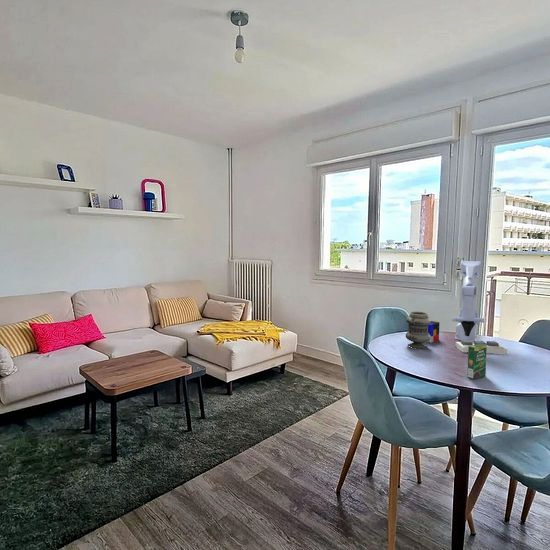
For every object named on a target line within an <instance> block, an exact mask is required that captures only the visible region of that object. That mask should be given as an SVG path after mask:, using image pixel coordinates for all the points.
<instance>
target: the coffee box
mask: <svg viewBox="0 0 550 550" xmlns="http://www.w3.org/2000/svg"><path fill="white" fill-rule="evenodd" d="M486 350H487V345H485V344H482V343H480V344H476V345H472V346H468V353H467V354H468V355H467V374H466V375H467V378H468V379H471V380H477V379H479V378H484V377H487V375H486V374H487V371H486V370H487V353H486Z"/></svg>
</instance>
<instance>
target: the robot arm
mask: <svg viewBox="0 0 550 550" xmlns="http://www.w3.org/2000/svg"><path fill="white" fill-rule="evenodd" d="M481 272H482V261H480V260H478V261H477V260H476V261H475V260H474V261H473V260H469V261H467V260H461V262H460V275H461V277H463V283H462V284H463V285H462V286H461V308H459V310H458V311H459V312H458V316H452V317H451V321H452V322H454V323H455V322H458V323H457V324H456V326H455V337H454V339H455V340H458V341H461V340H470V341H471V342H473V343H474V341H480V340H479V339H476V328H477V325H479V323H482V324H483V323H485V318H483V317H480V312H479V310H478V309H477V308H476V297H477V293H478V292H477V289H478V288H477V278H479V277H480V276H481Z"/></svg>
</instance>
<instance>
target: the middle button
mask: <svg viewBox="0 0 550 550" xmlns="http://www.w3.org/2000/svg"><path fill="white" fill-rule="evenodd" d="M473 343H474V345H476V344H480V343H482V344H485V345H486V343H487V342H485V341H484V340H479V341H474V342H473Z"/></svg>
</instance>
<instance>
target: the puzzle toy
mask: <svg viewBox="0 0 550 550" xmlns="http://www.w3.org/2000/svg"><path fill="white" fill-rule="evenodd" d="M428 333H429V334H430V336H431V338H430V340H429V341H428V342H431V343H434V342H436V341H435V340H437V341H439V340H440V321H436V320H435V321H433V320H431V323H430V324H429V325H428ZM438 339H439V340H438ZM433 341H434V342H433ZM428 342H427V343H428Z"/></svg>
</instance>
